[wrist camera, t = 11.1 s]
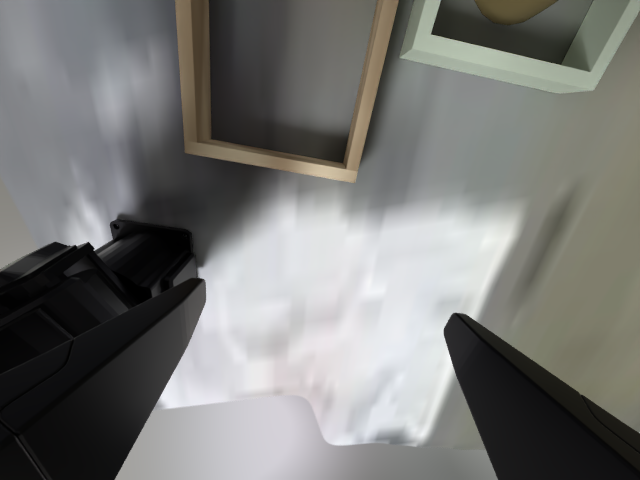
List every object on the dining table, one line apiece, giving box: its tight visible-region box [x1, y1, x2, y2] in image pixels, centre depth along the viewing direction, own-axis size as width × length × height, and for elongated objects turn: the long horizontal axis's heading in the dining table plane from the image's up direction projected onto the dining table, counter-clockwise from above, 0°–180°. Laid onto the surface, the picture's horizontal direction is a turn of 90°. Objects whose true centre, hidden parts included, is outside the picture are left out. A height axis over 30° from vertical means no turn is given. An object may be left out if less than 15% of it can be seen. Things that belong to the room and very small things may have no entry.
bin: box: [175, 0, 399, 183], centre depth 15 cm, size 12×12×2 cm
